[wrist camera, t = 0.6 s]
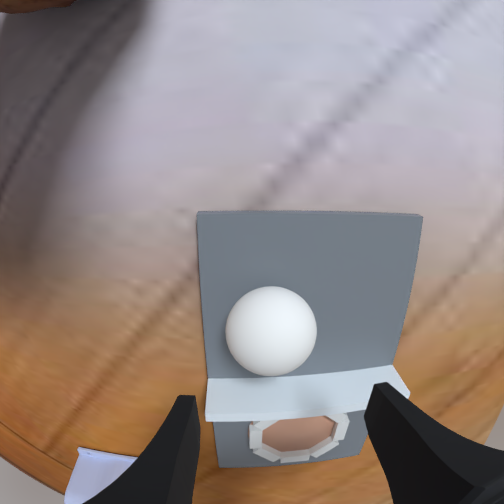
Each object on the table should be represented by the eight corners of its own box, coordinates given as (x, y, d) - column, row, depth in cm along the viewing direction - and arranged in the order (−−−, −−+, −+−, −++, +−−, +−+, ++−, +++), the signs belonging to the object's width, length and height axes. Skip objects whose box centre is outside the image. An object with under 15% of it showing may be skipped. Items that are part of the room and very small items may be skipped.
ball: (227, 343, 20) (226, 396, 15) (225, 272, 18) (222, 315, 14) (303, 340, 20) (320, 391, 16) (309, 271, 19) (332, 312, 14)
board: (219, 461, 26) (218, 496, 22) (198, 211, 18) (187, 230, 14) (356, 449, 26) (368, 480, 22) (416, 214, 19) (454, 231, 15)
